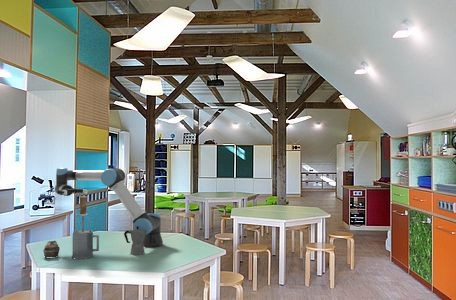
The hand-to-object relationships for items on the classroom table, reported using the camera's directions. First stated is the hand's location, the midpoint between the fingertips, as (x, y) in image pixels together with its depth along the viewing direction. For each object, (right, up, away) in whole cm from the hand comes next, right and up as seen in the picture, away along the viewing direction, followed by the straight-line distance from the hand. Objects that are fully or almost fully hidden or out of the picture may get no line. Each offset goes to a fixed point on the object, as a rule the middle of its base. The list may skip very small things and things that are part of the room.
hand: (77, 192), depth 259 cm
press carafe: (+8, -41, -10) cm, 43 cm away
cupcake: (-13, -41, -9) cm, 44 cm away
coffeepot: (+40, -41, -2) cm, 57 cm away
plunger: (+7, -25, -9) cm, 28 cm away
